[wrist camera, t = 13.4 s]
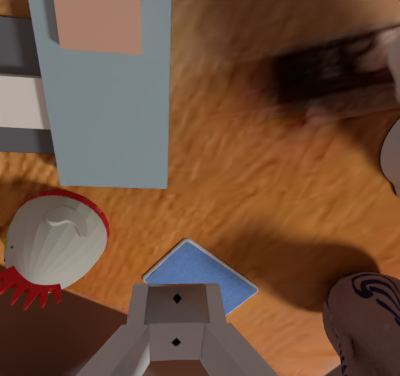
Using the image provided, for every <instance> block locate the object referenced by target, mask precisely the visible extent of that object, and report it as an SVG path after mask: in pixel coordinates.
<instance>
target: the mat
mask: <svg viewBox="0 0 400 376" xmlns="http://www.w3.org/2000/svg"><path fill="white" fill-rule="evenodd" d="M0 73H3V74H17V75H31V76H41V71H40V65H39V59H38V53H37V47H36V42H35V36H34V30H33V24H32V19H21V18H10V17H0ZM0 152H23V153H47V154H55V151H54V146H53V140H52V134H51V130H50V129H31V128H12V127H0Z"/></svg>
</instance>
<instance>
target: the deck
mask: <svg viewBox="0 0 400 376" xmlns="http://www.w3.org/2000/svg"><path fill="white" fill-rule="evenodd" d="M28 1H29V7H30V13H31V19H32V24H33V30H34V36H35V42H36V47H37V53H38V59H39V65H40V71H41V76H42V82H43V88H44V94H45V99H46V105H47V111H48V117H49V123H50V128H51V134H52V140H53V146H54V151H55V157H56V163H57V169H58V175H59V180H60V185H64V186H96V187H127V188H159V189H167V179H168V141H169V99H170V57H171V15H172V0H141V13H142V55H134V54H122V53H109V52H96V51H83V50H70V49H60V42H59V35H58V28H57V20H56V13H55V6H54V0H28Z"/></svg>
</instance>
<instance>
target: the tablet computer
mask: <svg viewBox="0 0 400 376" xmlns="http://www.w3.org/2000/svg"><path fill="white" fill-rule="evenodd" d="M143 281H144V282H145V283H147V284H149V283H154V284H190V283H204V284H205V283H218V284H219V285H220V290H221V295H222V301H223V306H224V312H225V316H226V315H228V314H229V313H230V312H232V311H233V310H234V309H236V308H237V307H238V306H240V305H241V304H242V303H244V302H245V301H246V300H248V299H249V298H250V297H252V296H253V295H254V294H256V293H257V292H258V286H256V285H255V284H253V283H252V282H250V281H249V280H248V279H246V278H245V277H243V276H242V275H241V274H239V273H238V272H236V271H235V270H233V269H232V268H231V267H229V266H228V265H226V264H225V263H224V262H222V261H221V260H219V259H218V258H217V257H215V256H214V255H213V254H211V253H210V252H208V251H207V250H206V249H204V248H203V247H202V246H200V245H199V244H197V243H196V242H194V241H193V240H192V239H190V238H185V239H183V240H182V241H181V242H180V243H179V244H178V245H177V246H175V247H174V248H173V249H172V250H171V251H170V252H169V253H168V254H167V255H166V256H165V257H163V258H162V259H161V260H160V261H159V262H158V263H157V264H156V265H155V266H154V267H153V268H151V269H150V270H149V271H148V272H147V273H146V274H145V275H144V276H143Z"/></svg>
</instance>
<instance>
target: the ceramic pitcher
mask: <svg viewBox="0 0 400 376" xmlns="http://www.w3.org/2000/svg"><path fill="white" fill-rule="evenodd" d="M323 324H324V329H325V332H326V334H327V337H328V339H329V341H330V342H331V344H332V346H333V347H334V349H335V351H336V352H337V354H338V355H339V357H340V360H341V370H342V376H400V280H399V279H397V278H394V277H391V276H388V275H384V274H380V273H374V272H362V273H357V274H353V275H349V276H347V277H344V278H341V279H340V280H338V282H337V283H336V284H334V286H333V287H332V288H331V289H330V291H329V292H328V294H327V296H326V298H325V301H324V304H323Z"/></svg>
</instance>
